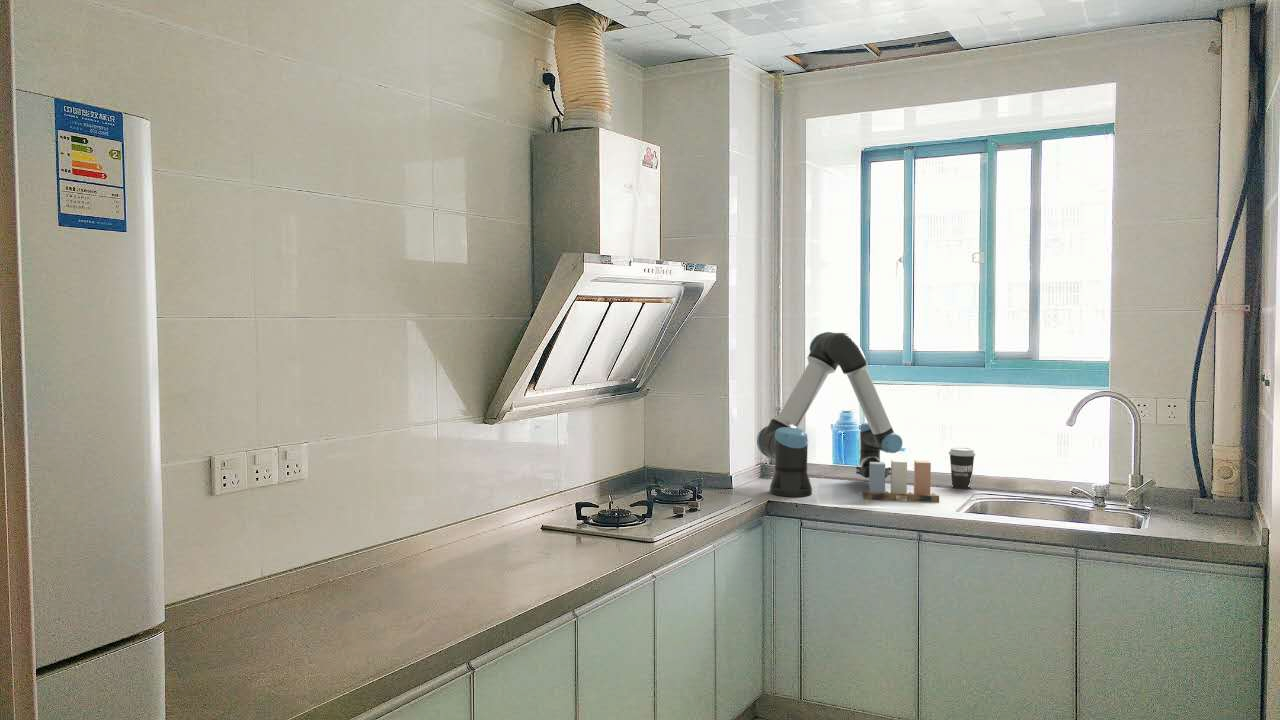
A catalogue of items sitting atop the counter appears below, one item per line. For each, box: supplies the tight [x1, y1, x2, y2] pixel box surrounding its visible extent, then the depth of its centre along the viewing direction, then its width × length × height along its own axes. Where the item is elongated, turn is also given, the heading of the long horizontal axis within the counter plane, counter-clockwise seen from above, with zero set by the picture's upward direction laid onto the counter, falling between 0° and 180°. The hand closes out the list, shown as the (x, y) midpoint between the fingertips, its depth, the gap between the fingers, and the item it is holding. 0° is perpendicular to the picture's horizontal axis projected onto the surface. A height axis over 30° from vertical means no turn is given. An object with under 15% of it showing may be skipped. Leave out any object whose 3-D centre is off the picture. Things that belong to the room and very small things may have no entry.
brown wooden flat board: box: [861, 490, 940, 503], centre depth 320 cm, size 25×15×3 cm, turn 79°
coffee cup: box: [948, 446, 976, 489], centre depth 340 cm, size 10×10×15 cm
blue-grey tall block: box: [868, 461, 886, 493], centre depth 317 cm, size 5×5×12 cm
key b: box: [890, 459, 908, 494], centre depth 322 cm, size 5×5×12 cm
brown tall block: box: [913, 459, 932, 495], centre depth 321 cm, size 5×5×12 cm
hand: (877, 478), depth 320 cm, fingers closed
